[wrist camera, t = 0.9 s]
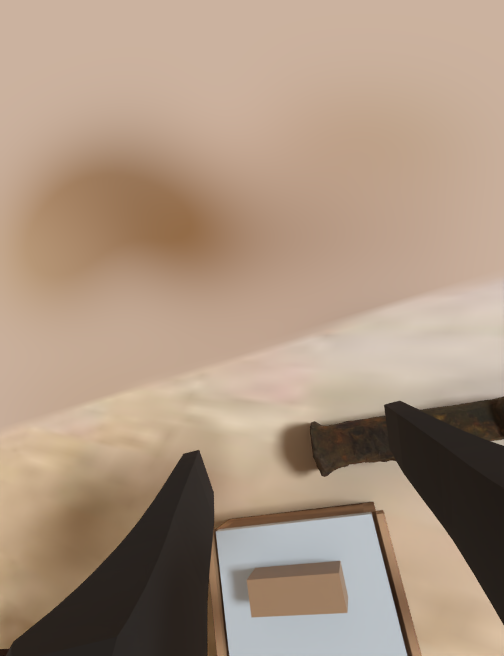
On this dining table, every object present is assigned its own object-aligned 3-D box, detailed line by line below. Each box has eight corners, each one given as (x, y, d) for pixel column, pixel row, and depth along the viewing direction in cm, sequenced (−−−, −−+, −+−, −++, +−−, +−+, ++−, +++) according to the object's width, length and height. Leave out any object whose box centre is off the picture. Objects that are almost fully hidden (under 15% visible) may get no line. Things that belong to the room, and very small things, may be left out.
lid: (424, 724, 19) (434, 767, 17) (240, 719, 22) (225, 755, 19) (371, 511, 23) (372, 522, 20) (218, 529, 25) (204, 540, 23)
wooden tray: (428, 685, 22) (443, 737, 18) (243, 684, 25) (224, 729, 21) (380, 501, 25) (383, 513, 22) (224, 519, 28) (204, 533, 25)
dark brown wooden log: (320, 472, 27) (313, 481, 23) (311, 422, 29) (304, 422, 24) (591, 444, 23) (646, 449, 19) (567, 387, 24) (613, 379, 20)
